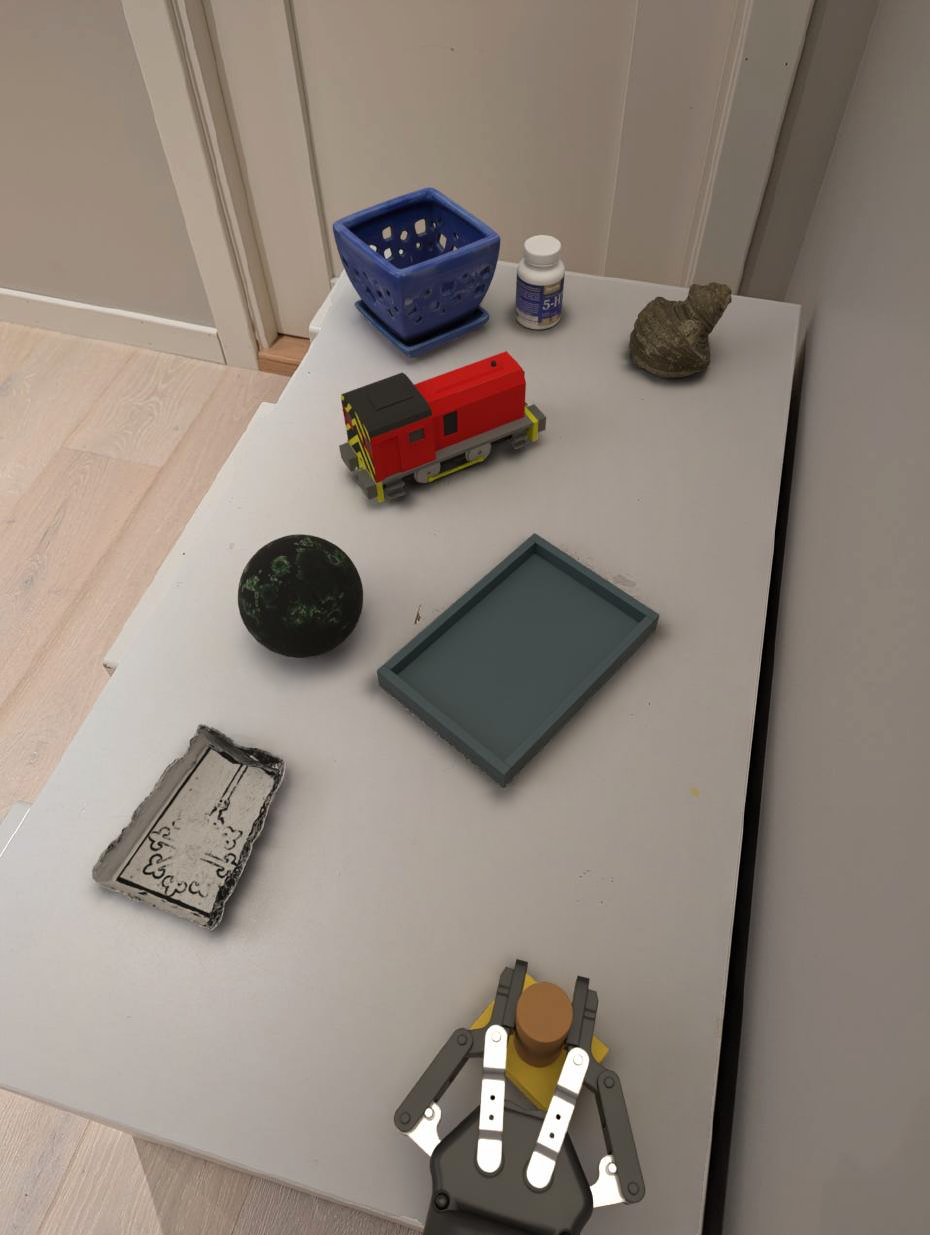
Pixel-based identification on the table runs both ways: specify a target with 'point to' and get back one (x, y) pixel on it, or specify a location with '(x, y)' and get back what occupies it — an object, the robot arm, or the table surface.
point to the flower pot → (419, 269)
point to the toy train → (435, 423)
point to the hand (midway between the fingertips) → (551, 972)
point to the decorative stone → (300, 596)
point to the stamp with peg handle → (539, 1040)
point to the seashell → (678, 331)
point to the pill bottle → (540, 283)
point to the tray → (517, 656)
